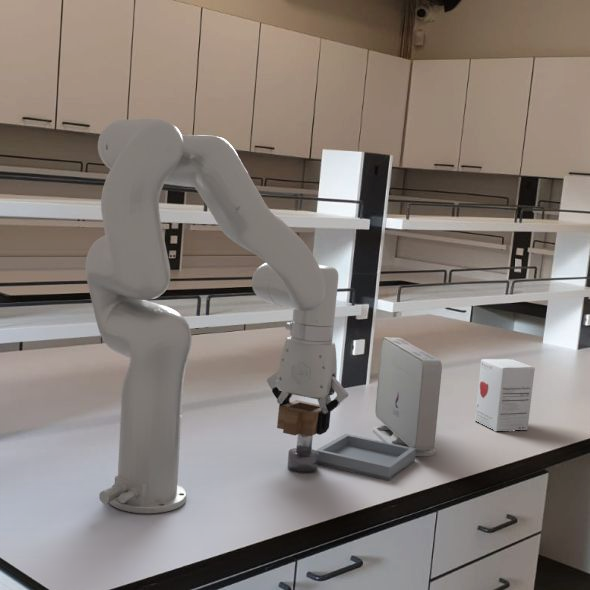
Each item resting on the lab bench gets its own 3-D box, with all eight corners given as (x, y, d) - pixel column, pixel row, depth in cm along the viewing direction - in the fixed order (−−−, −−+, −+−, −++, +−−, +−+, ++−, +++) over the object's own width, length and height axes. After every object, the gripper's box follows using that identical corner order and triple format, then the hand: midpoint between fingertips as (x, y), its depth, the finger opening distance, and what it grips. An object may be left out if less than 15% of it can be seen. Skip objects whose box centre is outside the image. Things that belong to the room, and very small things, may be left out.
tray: (388, 480, 157) (390, 467, 156) (314, 463, 163) (315, 450, 163) (414, 461, 169) (415, 448, 169) (344, 445, 176) (345, 433, 176)
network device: (364, 423, 193) (372, 335, 191) (401, 424, 195) (409, 336, 193) (404, 461, 168) (413, 360, 166) (446, 461, 171) (455, 361, 168)
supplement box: (473, 421, 202) (479, 358, 200) (505, 420, 205) (511, 358, 203) (495, 432, 194) (502, 367, 192) (528, 431, 197) (536, 366, 195)
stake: (309, 475, 156) (312, 432, 155) (282, 468, 159) (285, 426, 158) (322, 467, 161) (326, 425, 160) (296, 461, 164) (299, 420, 163)
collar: (306, 438, 152) (308, 416, 152) (271, 430, 155) (273, 408, 155) (328, 428, 160) (330, 407, 160) (294, 420, 163) (296, 400, 163)
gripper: (260, 327, 157) (251, 423, 159) (347, 342, 149) (337, 443, 152) (279, 324, 164) (271, 415, 166) (364, 338, 156) (354, 434, 158)
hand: (302, 428), depth 159 cm, fingers closed on collar, 7 cm apart
